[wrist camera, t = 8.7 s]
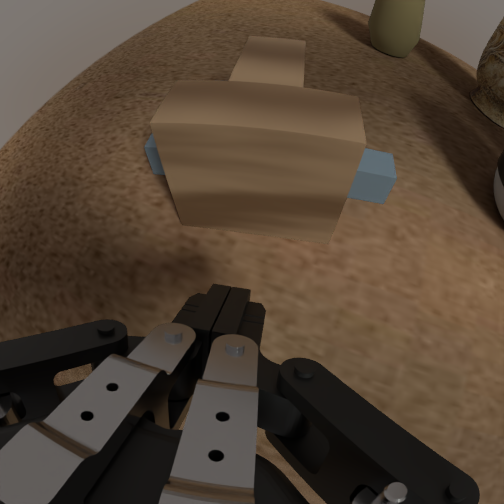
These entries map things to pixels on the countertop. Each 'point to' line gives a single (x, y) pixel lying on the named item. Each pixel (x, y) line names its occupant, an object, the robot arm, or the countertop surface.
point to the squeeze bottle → (396, 25)
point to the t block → (260, 147)
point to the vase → (491, 78)
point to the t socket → (364, 184)
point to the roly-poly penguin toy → (499, 185)
